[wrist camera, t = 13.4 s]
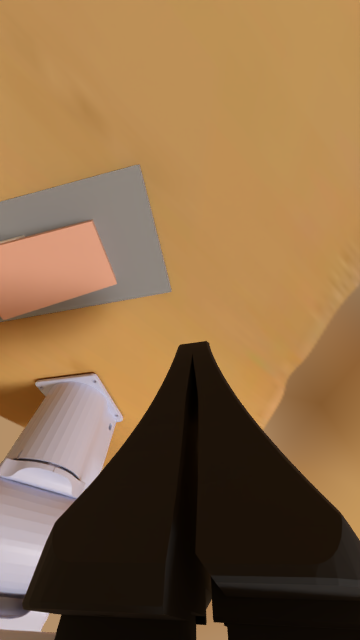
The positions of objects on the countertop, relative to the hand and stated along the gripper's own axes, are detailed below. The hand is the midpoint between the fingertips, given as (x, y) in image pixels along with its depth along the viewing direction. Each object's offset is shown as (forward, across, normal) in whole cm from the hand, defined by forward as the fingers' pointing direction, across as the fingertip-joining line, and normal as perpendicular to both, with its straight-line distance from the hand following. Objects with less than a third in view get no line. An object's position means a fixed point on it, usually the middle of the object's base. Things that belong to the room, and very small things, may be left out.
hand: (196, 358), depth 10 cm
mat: (+9, +16, -4) cm, 19 cm away
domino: (+8, +6, -4) cm, 11 cm away
